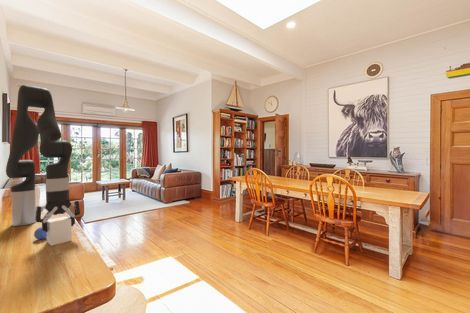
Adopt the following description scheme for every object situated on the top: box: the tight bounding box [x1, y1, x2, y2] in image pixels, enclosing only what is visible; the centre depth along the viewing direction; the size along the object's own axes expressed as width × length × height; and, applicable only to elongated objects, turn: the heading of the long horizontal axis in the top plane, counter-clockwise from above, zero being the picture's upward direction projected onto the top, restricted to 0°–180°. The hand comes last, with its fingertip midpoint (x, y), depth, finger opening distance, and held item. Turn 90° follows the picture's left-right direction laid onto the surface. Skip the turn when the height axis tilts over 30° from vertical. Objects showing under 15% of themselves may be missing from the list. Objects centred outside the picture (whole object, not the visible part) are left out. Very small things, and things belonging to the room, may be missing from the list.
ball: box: [33, 226, 47, 240], centre depth 97 cm, size 5×5×5 cm
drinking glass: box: [35, 186, 41, 207], centre depth 146 cm, size 7×7×15 cm
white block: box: [46, 216, 73, 246], centre depth 94 cm, size 7×7×9 cm
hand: (59, 228), depth 94 cm, fingers open, 8 cm apart
